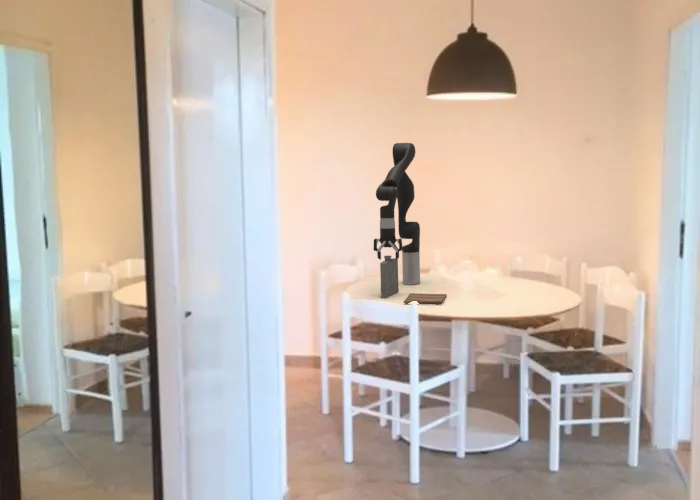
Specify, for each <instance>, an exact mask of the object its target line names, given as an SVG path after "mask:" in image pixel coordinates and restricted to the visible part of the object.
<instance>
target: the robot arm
mask: <svg viewBox="0 0 700 500" xmlns="http://www.w3.org/2000/svg"><path fill="white" fill-rule="evenodd" d="M415 156H416V146H415V144H414V143H411V142H396V143H394V144H393V146H392V159H393V167H391V168H390V170H389V171H388V173H387V175H386V177H385V179H384V180H383V181H382V182H381V183H380V184H379V185H378V187H377V189H376V191H375V197H376V199H377V200H378V201H380V202H388V203H387V204H386V205H382V206H380V208H379V217H380V219H379V238H374V239H373V251H374V252H376V255H377V259H378V260H381V259H382V252H381V251H382V249H383V248H389V249H391V248H392V249H393V250H394V251H395V258H396V260H397V259H398V260H399V258H400V252H401V256H402V257H401V258H402V284H403V285H408V286H409V285H410V286H411V285H412V286H414V285H419V284H421V267H420V266H421V264H420V263H421V261H420V257H421V255H420V247H421V246H420V243H421V242H420V241H421V240H420V238H421V226H420V223H419V222H418V221H407V219H406V218H407V213H408V211H409V210H410V208H411V206H412V204H413V202H414V200H415V186H414V182H413V181H412V179H411V177H409V175H408V174H407V172H406V170H408V167H409V166H410V165H411V163H412V162H413V161H414V158H415ZM396 203H397V209H398V210H397V211H398V212H397V214H398V236H399V238H396V220H395V207H396ZM403 240H411V242H409V243H408V244H406V245H403ZM378 243H380V246H379V247H378ZM396 243H397V244H398V247H397V245H396Z"/></svg>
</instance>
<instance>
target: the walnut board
mask: <svg viewBox="0 0 700 500" xmlns="http://www.w3.org/2000/svg"><path fill="white" fill-rule="evenodd" d="M447 295H448V294H447V293H409V294H408V295H407V296H406V298H405V299H404V300H403V304H404V303H405V304H404V305H409V304H408V303H410V302H412V301H417V302H418V303H419V304H442V303H443V304H444V302H445V301H444V300H446V299H447ZM445 298H446V299H445ZM443 301H444V302H443ZM443 304H442V305H443Z"/></svg>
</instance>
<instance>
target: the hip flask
mask: <svg viewBox="0 0 700 500" xmlns="http://www.w3.org/2000/svg"><path fill="white" fill-rule="evenodd" d="M383 258H384V260H383V261H381V262H380V263H379V266H380V268H379V270H380V298H381V299H389V298H390V297H392V296H394V295H396V294H399V291H400V290H399V258H398V259H397V260H396V257H395V258H394V257H393V258H392V255H384V257H383Z"/></svg>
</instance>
